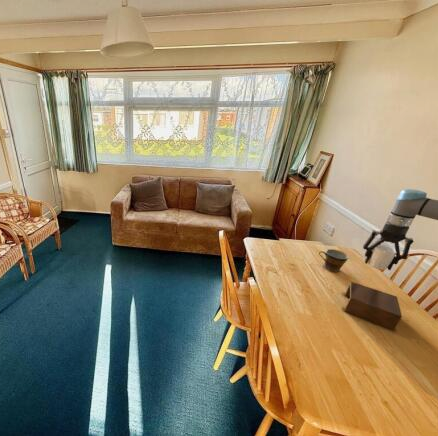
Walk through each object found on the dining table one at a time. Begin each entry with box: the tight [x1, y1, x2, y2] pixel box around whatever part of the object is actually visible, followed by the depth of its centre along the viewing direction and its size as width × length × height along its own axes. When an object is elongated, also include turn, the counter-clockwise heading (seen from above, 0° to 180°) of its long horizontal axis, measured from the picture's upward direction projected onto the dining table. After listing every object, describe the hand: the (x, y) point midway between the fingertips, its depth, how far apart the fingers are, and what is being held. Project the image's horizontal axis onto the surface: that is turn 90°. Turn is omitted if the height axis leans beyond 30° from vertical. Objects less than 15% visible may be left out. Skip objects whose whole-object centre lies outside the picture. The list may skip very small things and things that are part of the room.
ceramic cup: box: [318, 248, 349, 273], centre depth 131 cm, size 13×10×10 cm
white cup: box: [367, 243, 397, 271], centre depth 110 cm, size 8×8×10 cm
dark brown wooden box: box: [343, 281, 403, 331], centre depth 103 cm, size 16×14×8 cm
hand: (377, 265), depth 112 cm, fingers closed on white cup, 8 cm apart
